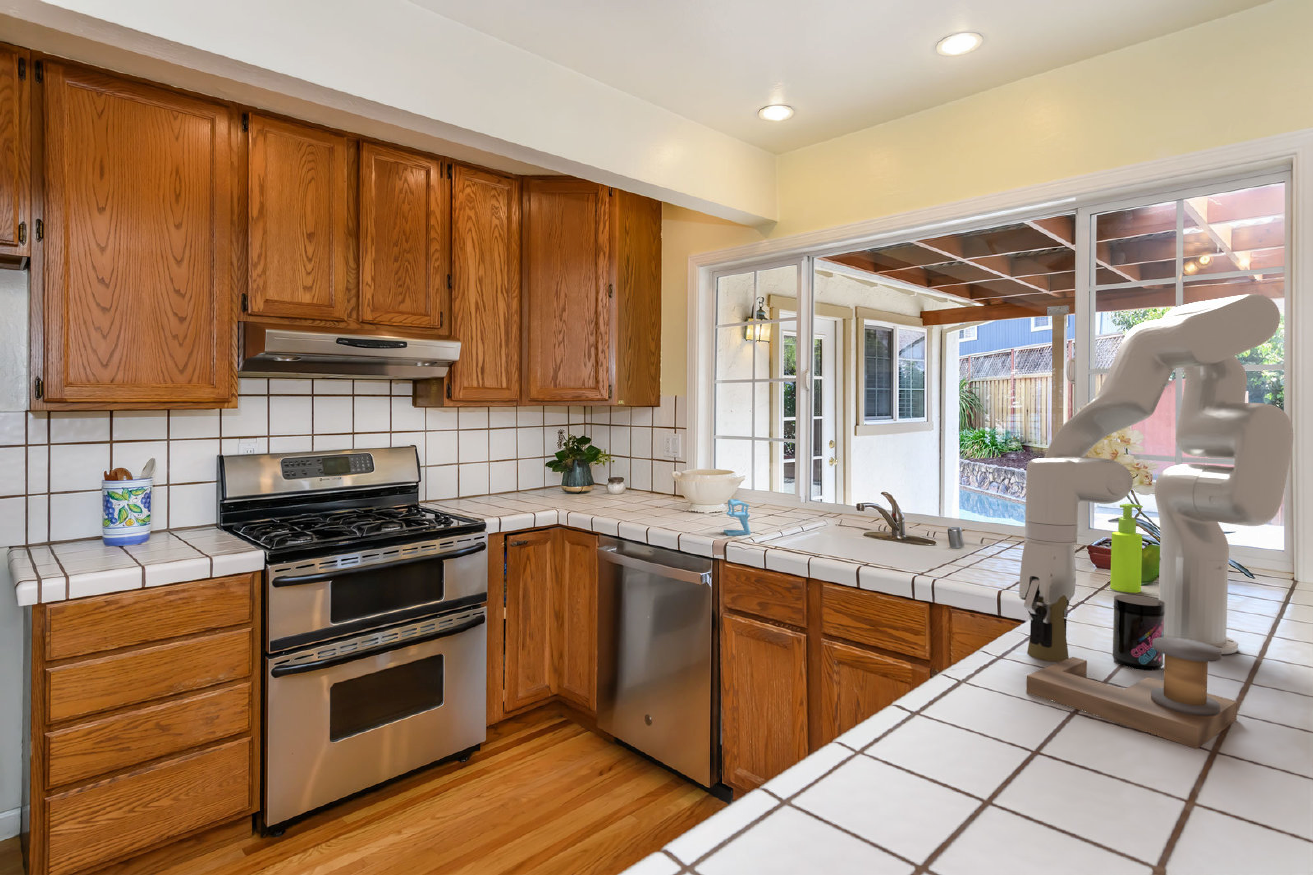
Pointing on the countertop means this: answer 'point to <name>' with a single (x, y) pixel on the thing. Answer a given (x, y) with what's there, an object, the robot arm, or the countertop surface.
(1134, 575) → the soap dispenser
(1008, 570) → the countertop surface
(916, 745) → the countertop surface
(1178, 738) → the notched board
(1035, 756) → the countertop surface
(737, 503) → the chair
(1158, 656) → the supplement container
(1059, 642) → the olive pepper mill
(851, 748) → the countertop surface
